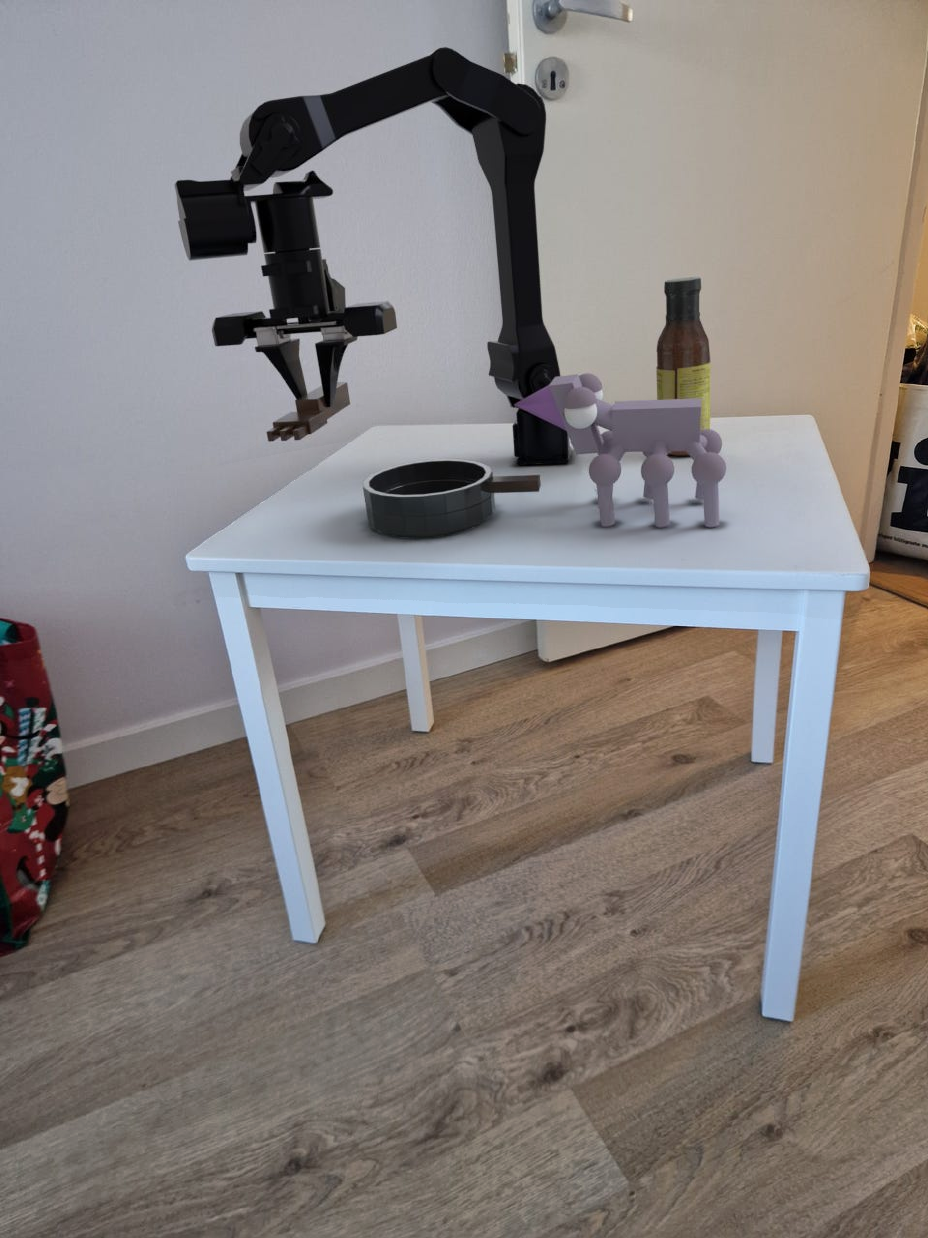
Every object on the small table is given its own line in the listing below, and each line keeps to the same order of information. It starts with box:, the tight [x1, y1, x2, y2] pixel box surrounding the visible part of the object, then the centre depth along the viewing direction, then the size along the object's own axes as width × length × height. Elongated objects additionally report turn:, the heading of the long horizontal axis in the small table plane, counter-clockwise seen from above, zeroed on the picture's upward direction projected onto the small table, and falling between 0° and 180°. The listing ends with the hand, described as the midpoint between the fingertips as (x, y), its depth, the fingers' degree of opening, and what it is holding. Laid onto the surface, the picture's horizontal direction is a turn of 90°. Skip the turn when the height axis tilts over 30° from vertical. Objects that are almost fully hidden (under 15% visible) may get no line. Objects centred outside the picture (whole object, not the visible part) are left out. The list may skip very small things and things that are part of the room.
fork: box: [266, 381, 351, 443], centre depth 85 cm, size 17×4×3 cm, turn 170°
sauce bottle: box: [655, 276, 711, 457], centre depth 93 cm, size 6×6×20 cm
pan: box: [362, 458, 496, 539], centre depth 82 cm, size 13×13×4 cm
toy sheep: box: [514, 372, 727, 528], centre depth 76 cm, size 20×11×14 cm, turn 74°
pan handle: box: [490, 474, 542, 494], centre depth 80 cm, size 5×2×1 cm, turn 80°
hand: (318, 406), depth 86 cm, fingers closed on fork, 2 cm apart
